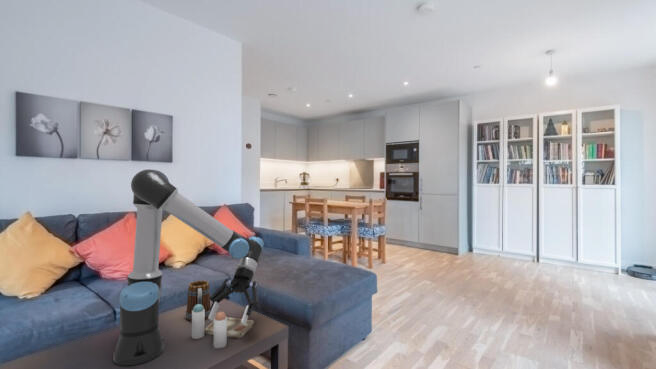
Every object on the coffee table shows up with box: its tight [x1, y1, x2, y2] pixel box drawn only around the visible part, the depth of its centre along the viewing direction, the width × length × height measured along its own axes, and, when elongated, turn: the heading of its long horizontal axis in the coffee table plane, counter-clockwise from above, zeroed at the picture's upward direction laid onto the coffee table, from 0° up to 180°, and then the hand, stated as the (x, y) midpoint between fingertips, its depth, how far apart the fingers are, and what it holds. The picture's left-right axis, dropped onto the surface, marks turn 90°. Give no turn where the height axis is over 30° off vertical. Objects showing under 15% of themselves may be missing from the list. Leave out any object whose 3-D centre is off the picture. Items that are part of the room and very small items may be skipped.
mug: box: [185, 279, 211, 322], centre depth 137 cm, size 16×11×15 cm
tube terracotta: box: [212, 311, 228, 349], centre depth 116 cm, size 5×5×12 cm
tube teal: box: [191, 304, 206, 340], centre depth 122 cm, size 5×5×12 cm
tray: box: [204, 316, 256, 340], centre depth 128 cm, size 16×12×2 cm
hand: (226, 321), depth 118 cm, fingers open, 13 cm apart
